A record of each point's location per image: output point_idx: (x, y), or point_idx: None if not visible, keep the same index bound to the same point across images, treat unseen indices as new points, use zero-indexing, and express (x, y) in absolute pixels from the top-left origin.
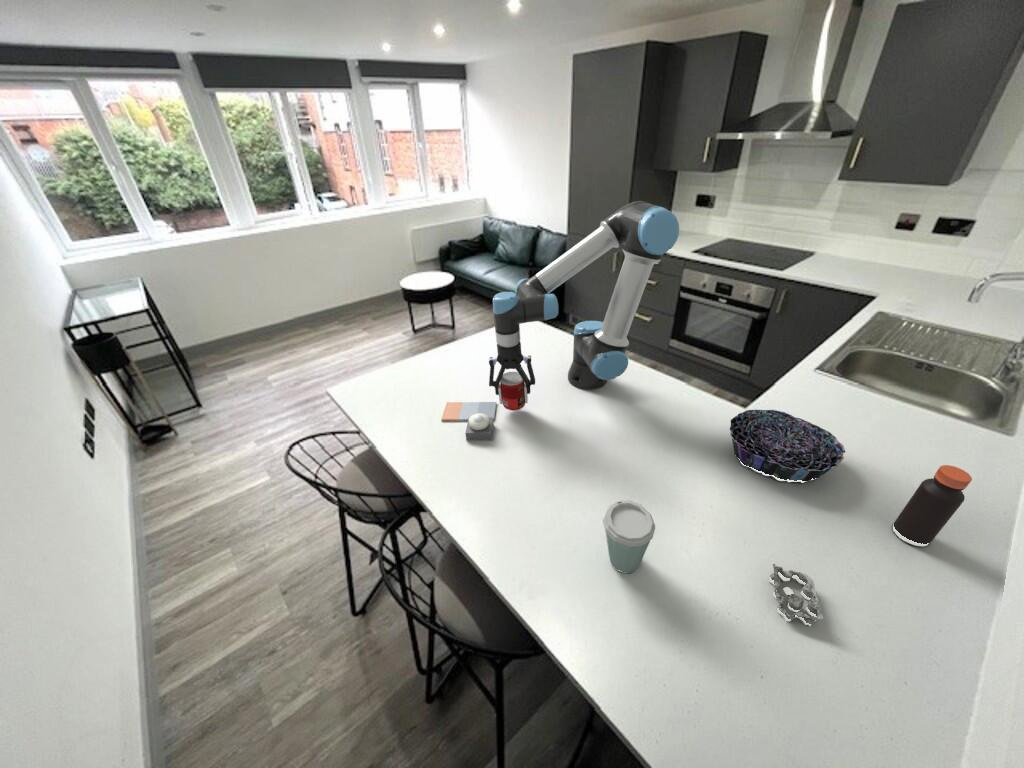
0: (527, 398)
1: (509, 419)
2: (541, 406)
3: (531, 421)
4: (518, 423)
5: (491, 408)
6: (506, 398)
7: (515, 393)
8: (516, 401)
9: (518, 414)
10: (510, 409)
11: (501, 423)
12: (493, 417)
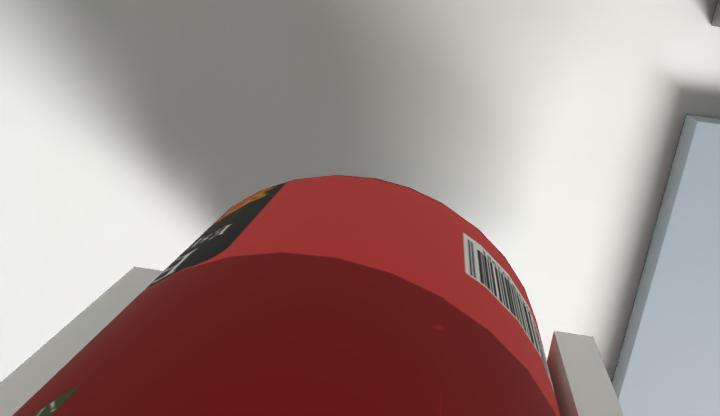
0: None
1: (456, 119)
2: (70, 307)
3: (171, 37)
4: (339, 13)
5: (687, 364)
6: (477, 324)
7: (187, 337)
8: (265, 229)
9: None
10: (422, 194)
11: (581, 41)
12: (695, 160)
